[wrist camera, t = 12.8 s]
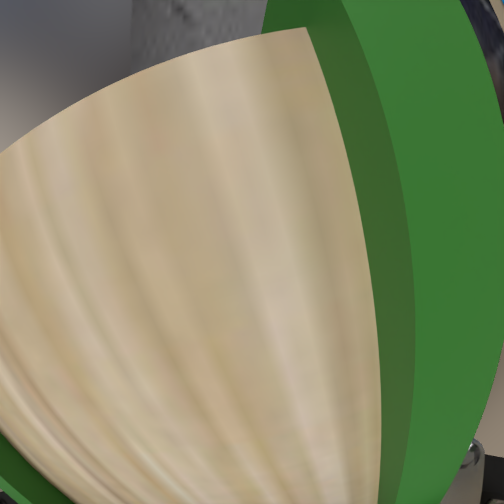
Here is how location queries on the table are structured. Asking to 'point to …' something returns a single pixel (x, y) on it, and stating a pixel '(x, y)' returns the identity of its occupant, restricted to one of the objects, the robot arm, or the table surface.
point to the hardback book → (259, 269)
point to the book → (499, 10)
